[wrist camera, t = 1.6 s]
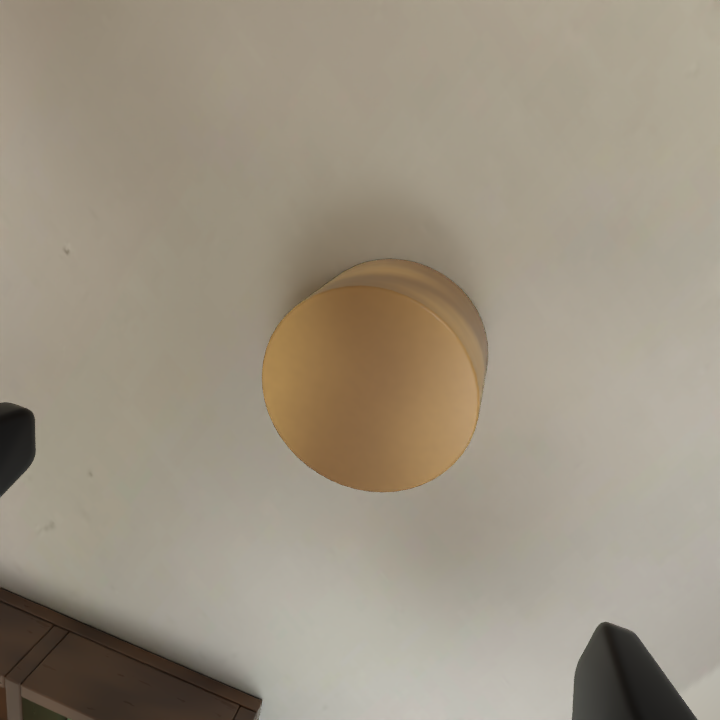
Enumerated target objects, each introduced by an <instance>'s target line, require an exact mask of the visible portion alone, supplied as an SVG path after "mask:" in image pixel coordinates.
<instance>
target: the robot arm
mask: <svg viewBox="0 0 720 720" xmlns="http://www.w3.org/2000/svg"><path fill="white" fill-rule="evenodd" d="M35 452H36V448H35V418H34V415H33V413H32V412H31V411H30V410H29V409H27V408H24V407H21V406H19V405H16V404H13V403H8V402H4V403H0V497H1V496H2V495H3V494H4V493H5V492H6V491H7V490H8V489H9V488H10V487H11V486H12V485H13V484H14V483H15V481H16V480H17V479H18V478H19V477H20V476H21V475H22V474H23V473H24V472H25V471H26V470H27V469H28V468H29V467H30V465H31V464H32V462H33V460H34V457H35ZM572 720H697V718H696V717H695V716H694V714H693V713H692V712H691V710H690V709H689V707H688V706H687V705H686V703H685V702H684V700H683V699H682V697H681V696H680V695H679V693H678V692H677V691H676V689H675V688H674V686H673V685H672V684H671V682H670V681H669V679H668V678H667V677H666V675H665V674H664V672H663V671H662V670H661V668H660V667H659V665H658V664H657V663H656V661H655V660H654V659H653V657H652V656H651V654H650V653H649V652H648V650H647V649H646V647H645V646H644V645H643V643H642V642H641V640H640V639H639V638H638V637H637V635H636V634H635V633H634V632H632V631H630V630H628V629H625V628H622V627H619V626H617V625H614V624H611V623H609V622H603V623H601V624H600V625H599V626H598V627H597V628H596V630H595V632H594V633H593V635H592V637H591V639H590V641H589V643H588V645H587V646H586V648H585V650H584V652H583V654H582V656H581V657H580V659H579V661H578V664H577V667H576V671H575V677H574V694H573V713H572Z"/></svg>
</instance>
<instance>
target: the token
mask: <svg viewBox="0 0 720 720" xmlns="http://www.w3.org/2000/svg"><path fill="white" fill-rule="evenodd" d="M487 363H488V343H487V338H486V332H485V329H484V326H483V323H482V320H481V318H480V316H479V314H478V312H477V310H476V308H475V307H474V305H473V304H472V302H471V301H470V299H469V298H468V297H467V295H466V294H465V293H464V292H463V291H462V290H461V289H460V288H459V287H458V286H457V285H456V284H455V283H454V282H453V281H451V280H450V279H449V278H447V277H446V276H444V275H443V274H441V273H440V272H438V271H436V270H434V269H432V268H430V267H427V266H425V265H422V264H419V263H416V262H411V261H406V260H398V259H381V260H374V261H369V262H365V263H362V264H359V265H356V266H354V267H352V268H350V269H348V270H346V271H344V272H343V273H341V274H340V275H338V276H337V277H335V278H334V279H333V280H331V281H330V282H328V283H327V284H326V285H324V286H323V287H322V288H320V289H319V290H317V291H316V292H315V293H313V294H312V295H310V296H309V297H308V298H306V299H305V300H304V301H302V302H301V303H299V304H298V305H297V306H295V307H294V308H293V309H292V310H291V311H290V312H289V313H288V314H287V315H286V316H285V317H284V318H283V319H282V321H281V322H280V323H279V324H278V326H277V327H276V329H275V331H274V333H273V334H272V336H271V338H270V341H269V343H268V346H267V348H266V352H265V356H264V360H263V369H262V388H263V394H264V400H265V403H266V407H267V410H268V413H269V416H270V418H271V420H272V422H273V425H274V427H275V428H276V430H277V432H278V433H279V435H280V437H281V438H282V439H283V441H284V442H285V443H286V445H287V446H288V447H289V449H290V450H291V451H292V452H293V453H294V454H295V455H296V456H297V457H298V458H299V459H300V460H301V461H303V462H304V463H305V464H306V465H307V466H309V467H310V468H311V469H313V470H314V471H316V472H317V473H319V474H320V475H322V476H324V477H326V478H328V479H330V480H332V481H334V482H336V483H339V484H341V485H344V486H347V487H351V488H354V489H359V490H364V491H371V492H395V491H401V490H407V489H410V488H414V487H417V486H420V485H422V484H425V483H427V482H429V481H431V480H433V479H435V478H436V477H438V476H439V475H441V474H442V473H444V472H445V471H446V470H448V469H449V468H450V467H451V466H452V465H453V464H454V463H455V462H456V461H457V460H458V459H459V457H460V456H461V455H462V454H463V452H464V451H465V449H466V448H467V446H468V444H469V443H470V441H471V438H472V436H473V434H474V431H475V428H476V424H477V421H478V417H479V411H480V405H481V399H482V393H483V388H484V382H485V376H486V370H487Z"/></svg>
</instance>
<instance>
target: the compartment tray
mask: <svg viewBox="0 0 720 720" xmlns="http://www.w3.org/2000/svg"><path fill="white" fill-rule="evenodd" d="M261 705H262V701H261V700H259V699H257V698H255V697H252V696H250V695H248V694H245V693H243V692H241V691H238V690H236V689H234V688H231V687H229V686H227V685H224V684H222V683H220V682H217V681H215V680H213V679H210V678H208V677H206V676H204V675H201V674H199V673H197V672H194V671H192V670H190V669H187V668H185V667H183V666H180V665H178V664H176V663H173V662H171V661H169V660H166V659H164V658H162V657H159V656H157V655H155V654H152V653H150V652H148V651H145V650H143V649H141V648H138V647H136V646H134V645H131V644H129V643H127V642H125V641H122V640H120V639H118V638H115V637H113V636H111V635H108V634H106V633H104V632H101V631H99V630H97V629H94V628H92V627H90V626H87V625H85V624H83V623H80V622H78V621H76V620H73V619H71V618H69V617H66V616H64V615H62V614H59V613H57V612H55V611H52V610H50V609H48V608H46V607H43V606H41V605H39V604H36V603H34V602H32V601H29V600H27V599H25V598H22V597H20V596H18V595H15V594H13V593H11V592H8V591H6V590H4V589H1V588H0V720H258V719H259V714H260V710H261Z"/></svg>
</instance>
